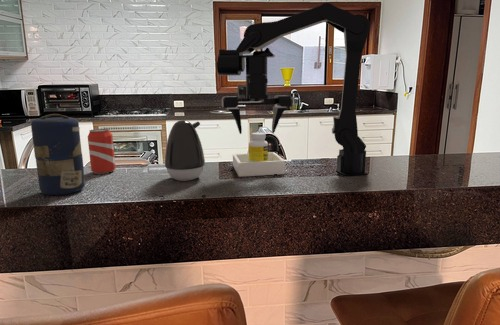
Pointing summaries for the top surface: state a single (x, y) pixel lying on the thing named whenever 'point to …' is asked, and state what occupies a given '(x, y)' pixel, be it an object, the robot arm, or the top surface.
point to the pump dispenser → (184, 152)
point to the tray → (258, 165)
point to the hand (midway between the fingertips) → (256, 133)
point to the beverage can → (101, 151)
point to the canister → (58, 154)
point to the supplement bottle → (258, 148)
